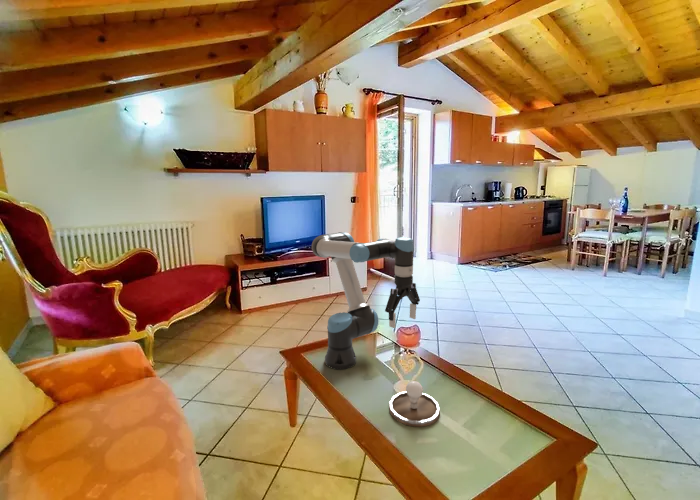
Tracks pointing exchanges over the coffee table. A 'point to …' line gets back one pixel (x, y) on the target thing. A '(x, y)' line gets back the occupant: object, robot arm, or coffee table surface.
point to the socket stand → (414, 410)
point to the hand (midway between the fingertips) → (402, 322)
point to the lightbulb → (414, 393)
